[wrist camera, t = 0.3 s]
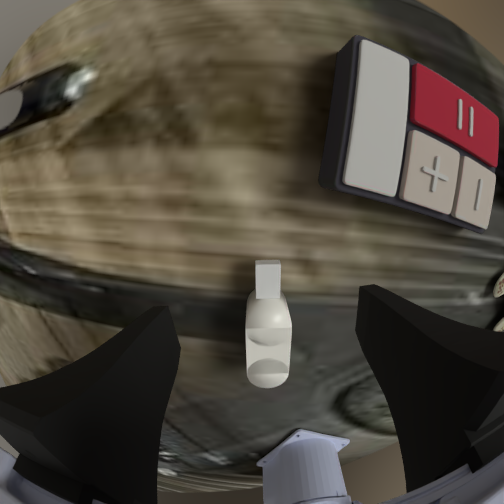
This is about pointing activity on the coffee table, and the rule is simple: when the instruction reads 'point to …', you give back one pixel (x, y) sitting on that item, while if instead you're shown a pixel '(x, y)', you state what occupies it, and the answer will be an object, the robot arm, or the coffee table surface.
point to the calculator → (409, 137)
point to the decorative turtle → (500, 288)
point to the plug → (267, 328)
